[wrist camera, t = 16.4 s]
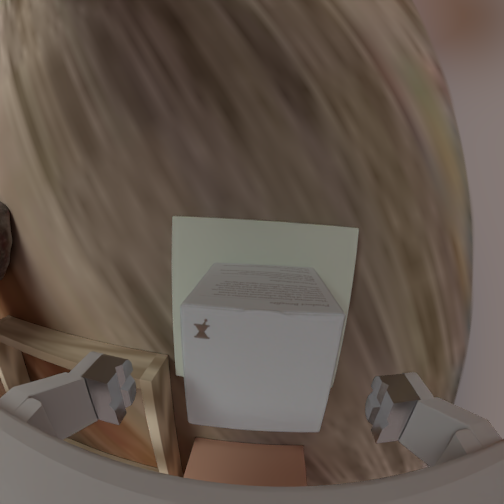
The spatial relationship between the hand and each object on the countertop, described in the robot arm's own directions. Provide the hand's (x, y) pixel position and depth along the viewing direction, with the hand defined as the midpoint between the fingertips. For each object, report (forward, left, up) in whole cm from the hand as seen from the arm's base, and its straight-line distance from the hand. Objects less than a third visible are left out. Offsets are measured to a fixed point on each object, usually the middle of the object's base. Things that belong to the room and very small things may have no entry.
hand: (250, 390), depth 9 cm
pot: (+18, 0, -10) cm, 20 cm away
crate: (+13, -15, -10) cm, 22 cm away
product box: (+1, 0, -9) cm, 9 cm away
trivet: (+1, 0, -10) cm, 10 cm away
